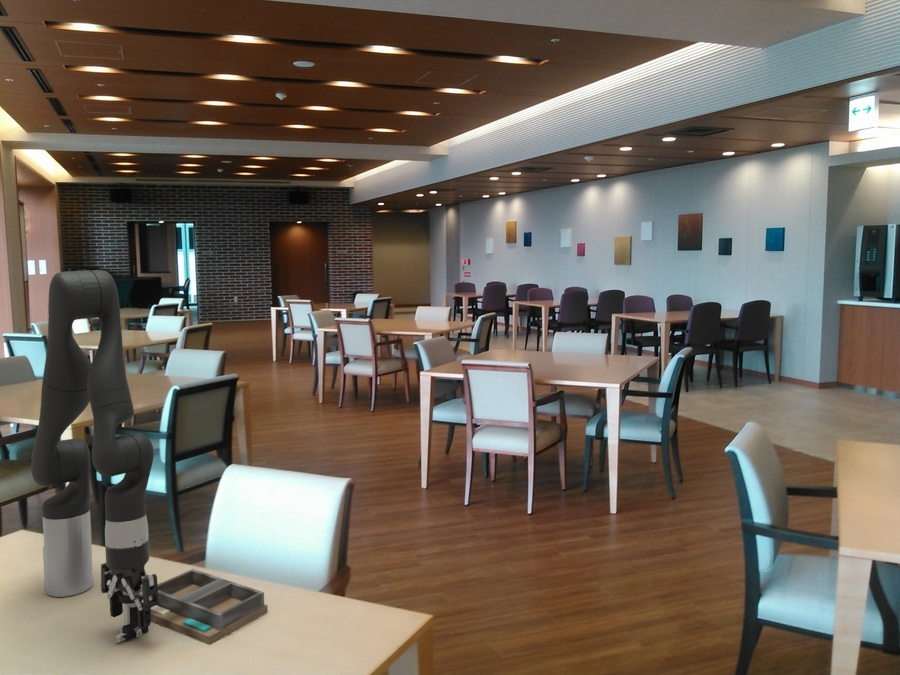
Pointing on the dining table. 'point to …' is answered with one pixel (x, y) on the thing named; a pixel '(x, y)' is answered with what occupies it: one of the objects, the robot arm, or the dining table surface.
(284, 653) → the dining table surface
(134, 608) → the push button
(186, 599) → the dock
